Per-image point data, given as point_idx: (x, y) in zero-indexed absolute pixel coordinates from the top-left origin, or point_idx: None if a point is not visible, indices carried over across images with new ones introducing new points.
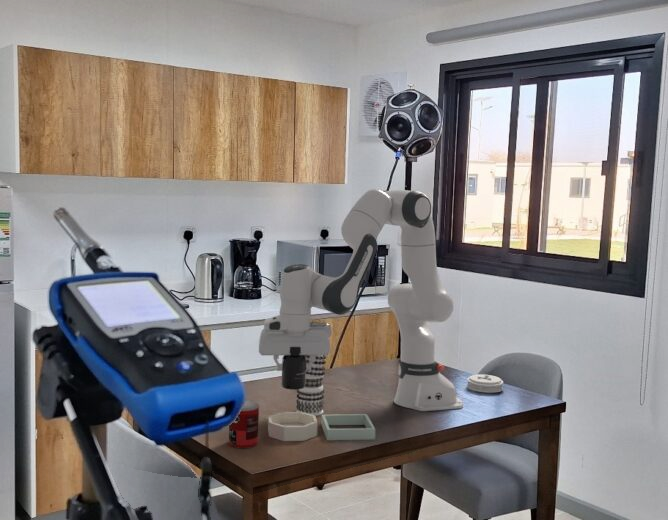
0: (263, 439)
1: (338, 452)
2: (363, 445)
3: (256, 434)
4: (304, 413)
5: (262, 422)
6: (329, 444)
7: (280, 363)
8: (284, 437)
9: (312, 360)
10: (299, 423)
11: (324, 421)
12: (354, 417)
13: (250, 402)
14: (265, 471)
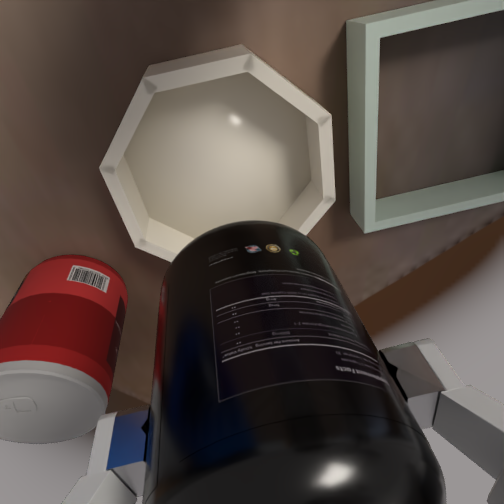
0: (131, 245)
1: (370, 291)
2: (453, 232)
3: (123, 323)
4: (276, 85)
5: (37, 30)
6: (353, 244)
7: (124, 464)
8: None
9: (493, 470)
10: (244, 81)
11: (366, 139)
12: None
13: (44, 377)
14: None
